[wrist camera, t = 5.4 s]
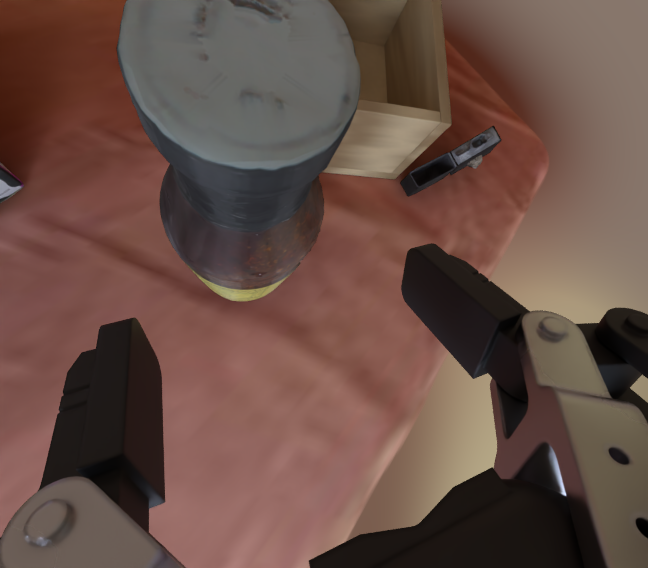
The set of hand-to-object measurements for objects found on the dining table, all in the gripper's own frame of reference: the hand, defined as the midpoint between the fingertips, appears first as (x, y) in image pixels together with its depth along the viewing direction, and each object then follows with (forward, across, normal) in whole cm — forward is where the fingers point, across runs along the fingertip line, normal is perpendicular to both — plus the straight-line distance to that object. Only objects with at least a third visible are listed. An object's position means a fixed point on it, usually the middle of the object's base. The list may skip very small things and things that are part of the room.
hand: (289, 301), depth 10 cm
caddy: (+22, -10, -1) cm, 24 cm away
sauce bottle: (+14, 0, +8) cm, 16 cm away
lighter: (+16, -19, +5) cm, 25 cm away
